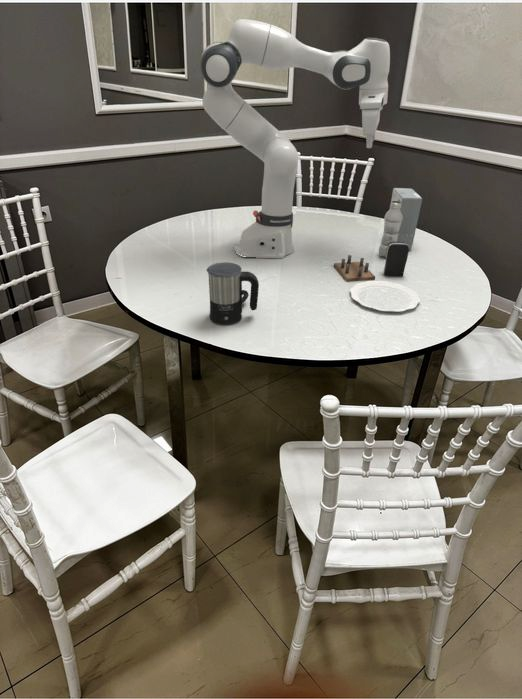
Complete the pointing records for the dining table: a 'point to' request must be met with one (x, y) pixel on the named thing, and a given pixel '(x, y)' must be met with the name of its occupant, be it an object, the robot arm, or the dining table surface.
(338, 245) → the dining table surface
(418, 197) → the hard drive box
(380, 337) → the dining table surface
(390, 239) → the plastic bottle
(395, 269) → the battery charger
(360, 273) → the brown pegboard
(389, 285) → the plate
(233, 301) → the milk frother
